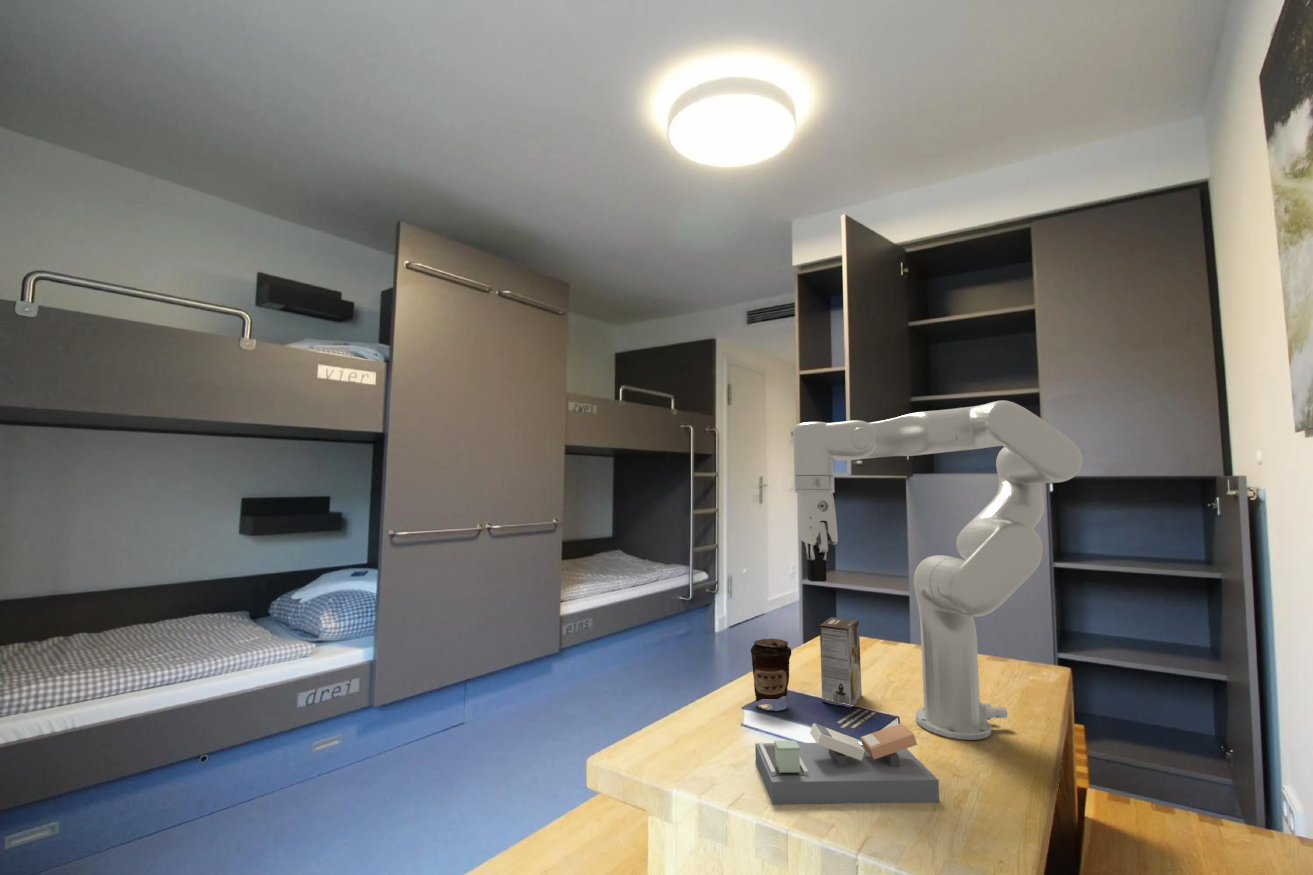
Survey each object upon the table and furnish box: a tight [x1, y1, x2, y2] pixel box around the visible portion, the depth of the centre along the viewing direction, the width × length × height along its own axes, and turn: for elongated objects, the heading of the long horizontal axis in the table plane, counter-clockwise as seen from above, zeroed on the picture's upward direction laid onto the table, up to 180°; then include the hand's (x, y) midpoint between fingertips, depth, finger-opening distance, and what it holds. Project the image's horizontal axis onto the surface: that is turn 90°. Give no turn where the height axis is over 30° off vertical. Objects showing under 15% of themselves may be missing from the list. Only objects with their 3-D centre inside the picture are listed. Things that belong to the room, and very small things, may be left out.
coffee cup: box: [750, 638, 792, 702], centre depth 114 cm, size 9×8×13 cm
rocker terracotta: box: [860, 722, 918, 759], centre depth 85 cm, size 7×4×2 cm, turn 92°
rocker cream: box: [809, 723, 865, 761], centre depth 85 cm, size 7×4×2 cm, turn 91°
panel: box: [754, 742, 940, 805], centre depth 85 cm, size 24×12×5 cm, turn 91°
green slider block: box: [773, 740, 800, 773], centre depth 82 cm, size 3×2×3 cm
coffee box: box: [819, 616, 863, 706], centre depth 118 cm, size 9×6×16 cm
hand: (817, 580), depth 106 cm, fingers closed
